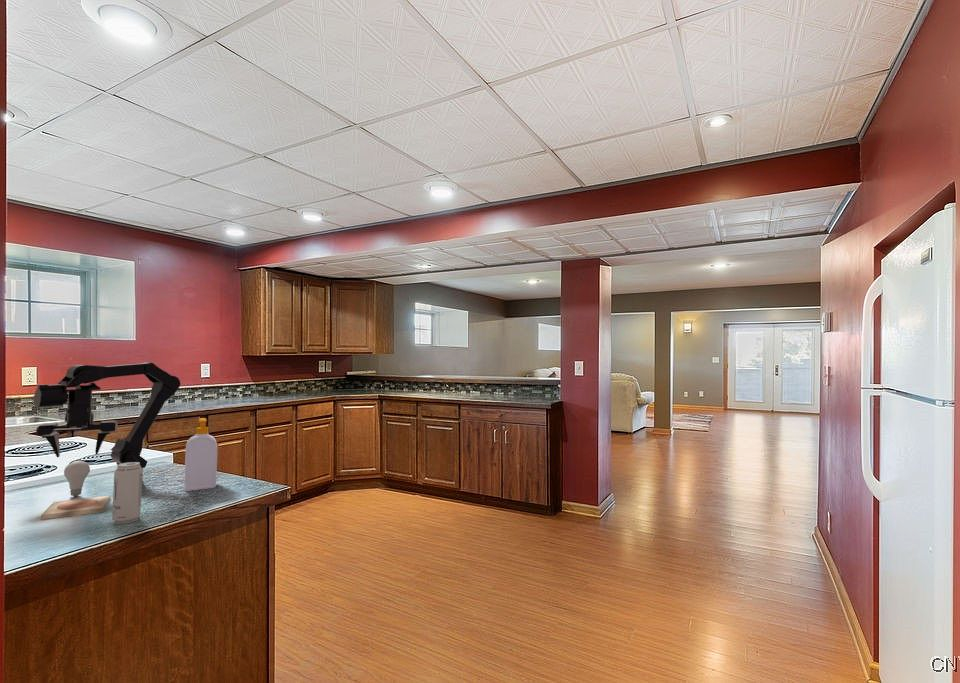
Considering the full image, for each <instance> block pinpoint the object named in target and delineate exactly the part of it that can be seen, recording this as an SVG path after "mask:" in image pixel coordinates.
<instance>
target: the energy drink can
mask: <svg viewBox="0 0 960 683" xmlns="http://www.w3.org/2000/svg"><path fill="white" fill-rule="evenodd" d="M116 466H117V467H116V469H115V470H114V472H113V492H112V495H113V496H112V497H113V498H112V516H111V520H112V521H114V524H116V525H124V524H130V523H133V522H136V521H138V519H139V517H140V516H141V514H142V513H141V511H142V510H141V508H142V490H143V489H142V488H143V484H142V468H141V466H140V463H139V462H127V463H121V464H118V465H117V464H116Z"/></svg>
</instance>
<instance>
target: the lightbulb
mask: <svg viewBox="0 0 960 683" xmlns="http://www.w3.org/2000/svg"><path fill="white" fill-rule="evenodd" d="M90 471H91V467H90V464H88V462H85V461H83V460H75V461H72V462H70V463H69V464H67V465H66V466H65V468H64V470H63V475H64V477H65V479H66V480H67V482H68V485H69V489H70V496H72V497H73V498H74V497H75V498H76V497H79V496H80V495H81V494H82V491H83V487H84V482H85V479H86V478H87V477H88V475H89V473H90Z"/></svg>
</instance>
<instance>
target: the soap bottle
mask: <svg viewBox="0 0 960 683" xmlns="http://www.w3.org/2000/svg"><path fill="white" fill-rule="evenodd" d="M207 421H208V420H207V418H205V417H202V418H201V417H199V419H198V422H199V426H198V427H196V428H195V435H192V436H191V437H190V438H189V439H188V440H187V441H186V444H185V459H184V461H185V462H184V480H183V481H184V482H183V484H184V485H183V488H184V491H185V492H190V491H191V492H192V490H193V491H198V490H200V491H201V490H208V489H209V488H210V489H214V488H217V471H218V470H217V469H218V468H217V467H218V447H219V446H218V442H217V440H216V438H215V437H214V436H213V435H212V434H211V435H210V433H209V426H205V425H206V422H207Z"/></svg>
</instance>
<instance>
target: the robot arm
mask: <svg viewBox="0 0 960 683" xmlns="http://www.w3.org/2000/svg"><path fill="white" fill-rule="evenodd" d="M138 375H139V376H140V375H144V377H145V378H146V379H147V380H148V381H150V382H151V384H152V386H151V390H150V391H151V392H150V397H149V399H148V401H147V402H146V404H145V406H144V407H143V409H142V411H141V413H140V414H139V416H138V417H137V419H136V421H135V423H134V424H133V426H132V428H131V430H130V431H129V433H128V434H127V436H126V437H124V438H123V439H122V438H117V439H116V441H115V444H114V446H113V447H112V448H111V449H110V451H111V453H110V457H111V460H112V461H113V462H114V463H116V466H117V465H118V464H121V463H127V462H139V463H140V466H141V468H142V485H143V484H144V480H143V479H144V469H145V468H146V466H147V464H148V460H146V459H145V458H143V457H142V456H141V454H142V451H143V447H144V446H143V443H144V439H145V437H146V435H147V434H148V432H149V430H150V429H151V427H152V426H153V424H154V422H155V420H156V419H157V417H158V416H159V413H160V412H161V411H162V408H163V406H164V405H165V403H166V401H168V400H170V398H171V397H173V395H175V394H176V392H177V391H178V390H179V388H180V387H181V381H180V379H179V377H177V376H175V375H172V374H170V373H168V372H167V371H165V370H164V369H162V368H160V367H158V366H157V365H156V364H155V363H153V362H140V363H130V364H129V363H128V364H117V365H115V364H114V365H107V366H105V365H101V366H100V365H87V364H73V365H72V366H70V367H69V368H68V369H67V371H66V373H65V375H64V376H63V378H61V379H60V381H58V383H56V384H37V385H36V389H35V392H34V395H33V405H34V407H35V408H36V409H40V408H43V409H44V408H55V407H62V406H64V404H66V403H67V409H66V412H65V415H64V421H65V423H66V425H63V424H62V425H59V423H58V422H57V423H56V422H55V423H54V422H53V423H42V424H40V425H38V426H37V427H36V430H35V436H41V438H42V439H46V440H47V442H48V443H49V444H50V445H49V446H51V448H52V450H53V452H54V454H55V456H56V457H57V458H60V455H61V450H60V447H61V446H60V432H78V431H94V430H99V432H98V433H97V438H96V444H95V450H94V451H95V455H99V452H100V449H101V448H102V444H103V442H104V440H105V439H106V437H107V435H110V434H112V432H115V431H117V430H118V428H119V426H118V424H119V423H118V421H117V420H102V421H100V422H99V423H94V420H95V419H94V418H95V415H94V413H93V411H92V408H93V407H92V404H93V391H100V390H101V386H98V385H97V384H96V383H95V382H97V381H101V380H105V379H108V378H117V377H127V376H138ZM84 384H85V385H84Z"/></svg>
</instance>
